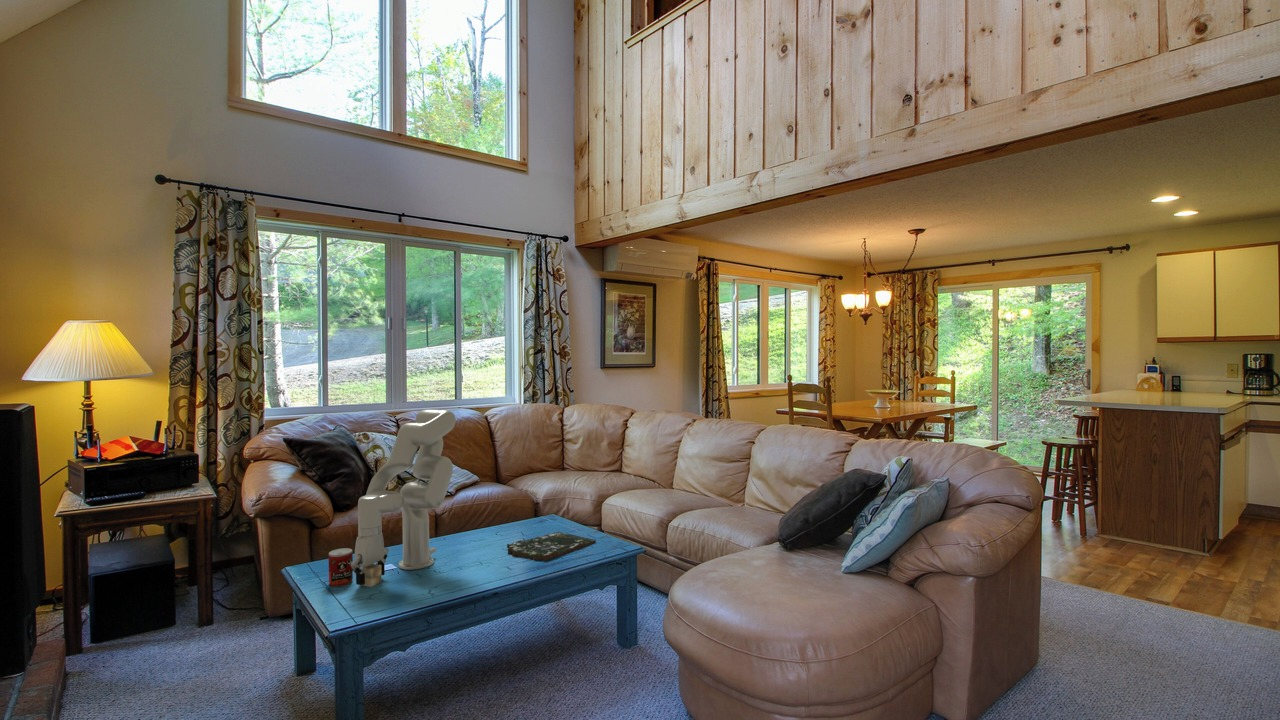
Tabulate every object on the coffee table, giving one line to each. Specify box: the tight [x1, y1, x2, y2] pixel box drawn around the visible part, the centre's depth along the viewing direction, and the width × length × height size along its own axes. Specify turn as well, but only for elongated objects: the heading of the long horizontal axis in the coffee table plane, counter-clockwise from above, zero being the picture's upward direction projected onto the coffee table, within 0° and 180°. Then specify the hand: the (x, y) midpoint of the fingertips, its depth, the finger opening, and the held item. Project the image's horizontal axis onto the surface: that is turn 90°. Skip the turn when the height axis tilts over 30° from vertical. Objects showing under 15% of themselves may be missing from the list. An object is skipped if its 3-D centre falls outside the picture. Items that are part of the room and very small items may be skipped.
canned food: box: [328, 547, 354, 587], centre depth 214 cm, size 8×8×11 cm
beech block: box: [360, 563, 383, 588], centre depth 213 cm, size 5×5×6 cm
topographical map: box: [506, 531, 597, 563], centre depth 253 cm, size 26×33×3 cm
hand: (370, 579), depth 213 cm, fingers open, 9 cm apart
